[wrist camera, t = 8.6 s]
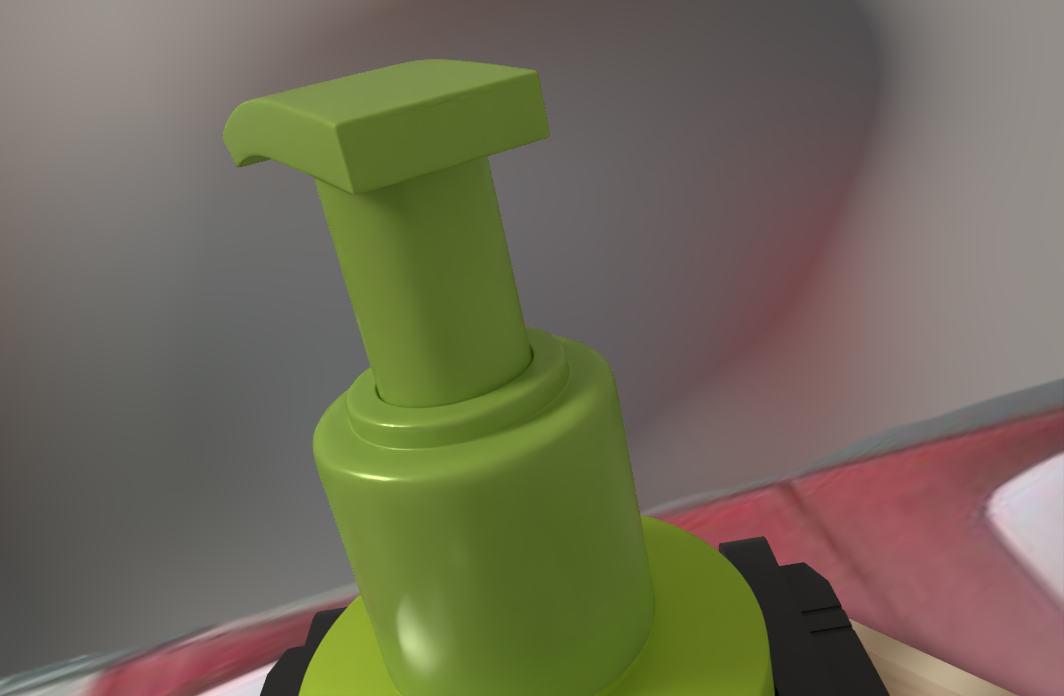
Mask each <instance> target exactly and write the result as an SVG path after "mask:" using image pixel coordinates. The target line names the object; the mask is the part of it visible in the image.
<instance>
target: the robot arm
mask: <svg viewBox="0 0 1064 696" xmlns="http://www.w3.org/2000/svg"><path fill="white" fill-rule="evenodd" d="M719 552H720V553H721V554H722V555H723V556H724V557H725V558H726V559H728V560H729V561H730V562H731V563H732V564H733V566H734V567H735V568H736V569H737V570H738V571H739V572H740V574H741V575H742V576H743V578H744V579H745V580H746V582H747V583H748V585H749V586H750V588H751V590H752V592H753V593H754V595H755V597H756V599H757V602H758V604H759V606H760V609H761V611H762V614H763V618H764V621H765V625H766V630H767V635H768V642H769V650H770V658H771V667H772V675H773V683H774V692H775V696H890V694H889V693H888V691H887V689H886V687H885V685H884V683H883V681H882V680H881V678H880V676H879V674H878V672H877V670H876V668H875V667H874V665H873V663H872V661H871V659H870V657H869V655H868V654H867V652H866V650H865V648H864V646H863V644H862V642H861V641H860V639H859V637H858V635H857V633H856V631H855V630H853V628H852V624H851V622H850V620H849V618H848V617H847V615H846V613H845V611H844V610H842V606H841V604H840V602H839V600H838V598H837V596H836V594H835V592H834V591H833V589H832V587H831V585H830V583H829V581H828V580H826V579H825V578H824V577H822V576H821V575H820V574H819V573H817V572H816V571H815V570H813V569H812V568H811V567H810V566H808V565H807V564H806V563H804V562H803V563H797V564H790V565H784V566H779V565H778V563H777V561H776V559H775V557H774V554H773V552H772V550H771V548H770V546H769V544H768V542H767V540H766V538H765V537H764V536H762V537H756V538H750V539H744V540H738V541H732V542H726V543H720V544H719ZM346 608H347V607H344V608H338V609H332V610H326V611H320V612H317V613H316V614H315V616H314V618H313V621H312V624H311V627H310V630H309V633H308V637H307V640H306V643H305V646H302V647H296V648H290V649H287V651H286V652H285V653H284V654H283V656H282V657H281V658H280V659H279V661H278V662H277V663H276V664H275V666H274V667H273V668H272V669H271V671H270V672H269V673H268V674H267V677H266V680H265V683H264V685H263V688H262V691H261V694H260V696H299V692H300V688H301V685H302V682H303V679H304V676H305V673H306V671H307V668H308V666H309V664H310V662H311V660H312V658H313V656H314V654H315V652H316V650H317V648H318V646H319V645H320V643H321V641H322V640H323V638H324V637H325V635H326V634H327V632H328V631H329V629H330V628H331V627H332V625H333V624H334V623H335V621H336V620H337V619H338V618H339V617H340V615H341V614H342V613H343V612H344V611H345V610H346Z"/></svg>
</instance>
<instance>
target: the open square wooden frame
mask: <svg viewBox="0 0 1064 696" xmlns="http://www.w3.org/2000/svg"><path fill="white" fill-rule="evenodd" d="M849 620H850V622H851V624H852V628H853V630H855V631H856V633H857V635H858V637H859V639H860V641H861V642H862V644H863V646H864V648H865V650H866V652H867V654H868V655H869V657H870V659H871V661H872V663H873V665H874V667H875V668H876V670H877V672H878V674H879V676H880V678H881V680H882V681H883V683H884V685H885V687H886V689H887V691H888V693H889V694H890V696H1018V695H1015V694H1013V693H1011V692H1009V691H1007V690H1004V689H1002V688H1000V687H998V686H996V685H994V684H991V683H989V682H987V681H985V680H983V679H980V678H978V677H976V676H974V675H972V674H969V673H967V672H965V671H963V670H961V669H958V668H956V667H954V666H952V665H950V664H947V663H945V662H943V661H941V660H939V659H937V658H934V657H932V656H930V655H928V654H926V653H923V652H921V651H919V650H917V649H915V648H912V647H910V646H908V645H906V644H904V643H901V642H899V641H897V640H895V639H893V638H891V637H888V636H886V635H884V634H882V633H880V632H877V631H875V630H873V629H871V628H869V627H866V626H864V625H862V624H860V623H858V622H855V621H853V620H851V619H849Z"/></svg>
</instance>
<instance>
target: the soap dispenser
mask: <svg viewBox="0 0 1064 696" xmlns="http://www.w3.org/2000/svg"><path fill="white" fill-rule="evenodd" d="M549 136H550V134H549V127H548V122H547V116H546V111H545V106H544V100H543V96H542V90H541V85H540V79H539V75H538V73H537V71H535V70H529V69H523V68H515V67H509V66H502V65H494V64H487V63H477V62H468V61H458V60H419V61H411V62H406V63H402V64H397V65H393V66H389V67H385V68H381V69H377V70H372V71H368V72H364V73H360V74H356V75H351V76H348V77H343V78H339V79H335V80H331V81H327V82H322V83H318V84H314V85H310V86H306V87H302V88H297V89H294V90H289V91H285V92H281V93H277V94H273V95H268V96H264V97H260V98H256V99H252V100H249V101H247V102H244V103H242V104H241V105H239V106H238V107H237V108H236V109H235V110H234V111H233V112H232V114H231V115H230V117H229V119H228V121H227V123H226V126H225V129H224V132H223V140H224V142H225V144H226V146H227V148H228V150H229V152H230V154H231V156H232V158H233V160H234V162H235V164H236V166H237V167H244V166H248V165H252V164H255V163H259V162H263V161H266V160H270V159H273V160H275V161H278V162H280V163H282V164H285V165H287V166H289V167H292V168H294V169H296V170H299V171H301V172H304V173H306V174H308V175H311V176H313V177H314V180H315V183H316V187H317V190H318V193H319V197H320V200H321V203H322V207H323V210H324V213H325V216H326V220H327V223H328V226H329V230H330V233H331V236H332V239H333V243H334V246H335V249H336V253H337V256H338V259H339V263H340V266H341V269H342V273H343V276H344V279H345V282H346V286H347V289H348V292H349V296H350V299H351V303H352V306H353V309H354V312H355V316H356V319H357V322H358V326H359V329H360V332H361V336H362V339H363V342H364V346H365V349H366V352H367V356H368V358H369V362H370V365H371V367H369V368H368V369H367V370H366V371H364V372H363V373H362V374H361V375H360V376H359V377H358V378H357V379H356V380H355V382H354V383H353V384H352V386H351V387H350V389H348V390H347V391H346V392H344V393H343V394H342V395H341V396H340V397H338V398H337V399H336V400H335V401H334V402H333V403H332V404H331V405H330V406H329V408H328V409H327V410H326V411H325V413H324V414H323V416H322V417H321V419H320V421H319V423H318V425H317V427H316V430H315V432H314V436H313V450H314V458H315V462H316V464H317V468H318V471H319V475H320V478H321V480H322V484H323V486H324V489H325V492H326V495H327V498H328V501H329V504H330V507H331V510H332V512H333V515H334V518H335V521H336V524H337V527H338V530H339V533H340V535H341V538H342V541H343V544H344V547H345V550H346V553H347V556H348V558H349V561H350V564H351V567H352V570H353V573H354V576H355V579H356V582H357V585H358V587H359V590H360V593H361V594H360V595H359V596H358V597H357V598H356V599H355V600H354V601H353V602H352V603H351V604H350V605H349V606H348V607H347V608H346V610H345V611H344V612H343V613H342V614H341V615H340V617H339V618H338V619H337V620H336V621H335V623H334V624H333V625H332V627H331V628H330V629H329V631H328V632H327V634H326V635H325V637H324V638H323V640H322V641H321V643H320V645H319V646H318V648H317V650H316V652H315V654H314V656H313V658H312V660H311V662H310V664H309V666H308V668H307V671H306V673H305V676H304V679H303V682H302V685H301V688H300V692H299V696H775V692H774V683H773V675H772V667H771V658H770V650H769V642H768V635H767V630H766V625H765V621H764V618H763V614H762V611H761V609H760V606H759V604H758V602H757V599H756V597H755V595H754V593H753V592H752V590H751V588H750V586H749V585H748V583H747V582H746V580H745V579H744V578H743V576H742V575H741V574H740V572H739V571H738V570H737V569H736V568H735V567H734V566H733V564H732V563H731V562H730V561H729V560H728V559H726V558H725V557H724V556H723V555H722V554H721V553H720V552H718V551H717V550H716V549H715V548H713V547H712V546H711V545H709V544H708V543H706V542H705V541H703V540H702V539H700V538H698V537H697V536H695V535H693V534H691V533H689V532H687V531H685V530H683V529H681V528H679V527H676V526H674V525H672V524H669V523H666V522H663V521H661V520H657V519H654V518H651V517H647V516H643V515H640V511H639V506H638V500H637V495H636V489H635V484H634V478H633V472H632V467H631V461H630V456H629V450H628V445H627V439H626V434H625V428H624V423H623V417H622V412H621V406H620V400H619V395H618V391H617V386H616V381H615V378H614V375H613V372H612V370H611V367H610V365H609V363H608V362H607V360H606V359H605V358H604V357H603V356H602V355H601V354H600V353H598V352H597V351H596V350H594V349H593V348H591V347H589V346H588V345H586V344H584V343H581V342H579V341H576V340H572V339H569V338H564V337H559V336H553V335H551V334H549V333H547V332H545V331H543V330H540V329H536V328H531V327H525V323H524V319H523V314H522V310H521V305H520V301H519V296H518V292H517V287H516V283H515V278H514V273H513V269H512V264H511V260H510V255H509V251H508V246H507V242H506V237H505V232H504V229H503V223H502V219H501V215H500V210H499V205H498V201H497V197H496V192H495V187H494V182H493V178H492V173H491V169H490V164H489V160H488V156H490V155H493V154H496V153H500V152H502V151H506V150H510V149H513V148H516V147H519V146H522V145H526V144H529V143H533V142H536V141H539V140H542V139H546V138H548V137H549Z"/></svg>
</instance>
